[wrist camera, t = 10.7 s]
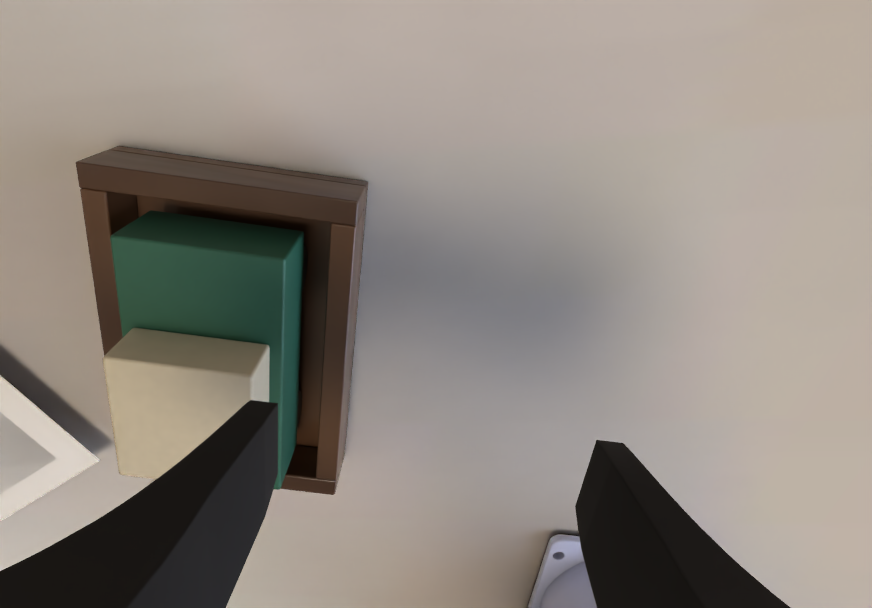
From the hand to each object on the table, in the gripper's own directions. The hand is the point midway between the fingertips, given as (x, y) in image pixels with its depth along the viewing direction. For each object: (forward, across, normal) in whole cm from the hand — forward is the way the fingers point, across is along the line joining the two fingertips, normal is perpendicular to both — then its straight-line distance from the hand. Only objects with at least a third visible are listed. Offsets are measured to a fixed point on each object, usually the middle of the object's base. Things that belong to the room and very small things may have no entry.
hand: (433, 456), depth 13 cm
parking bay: (+9, +7, +2) cm, 12 cm away
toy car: (+8, +7, +2) cm, 11 cm away
